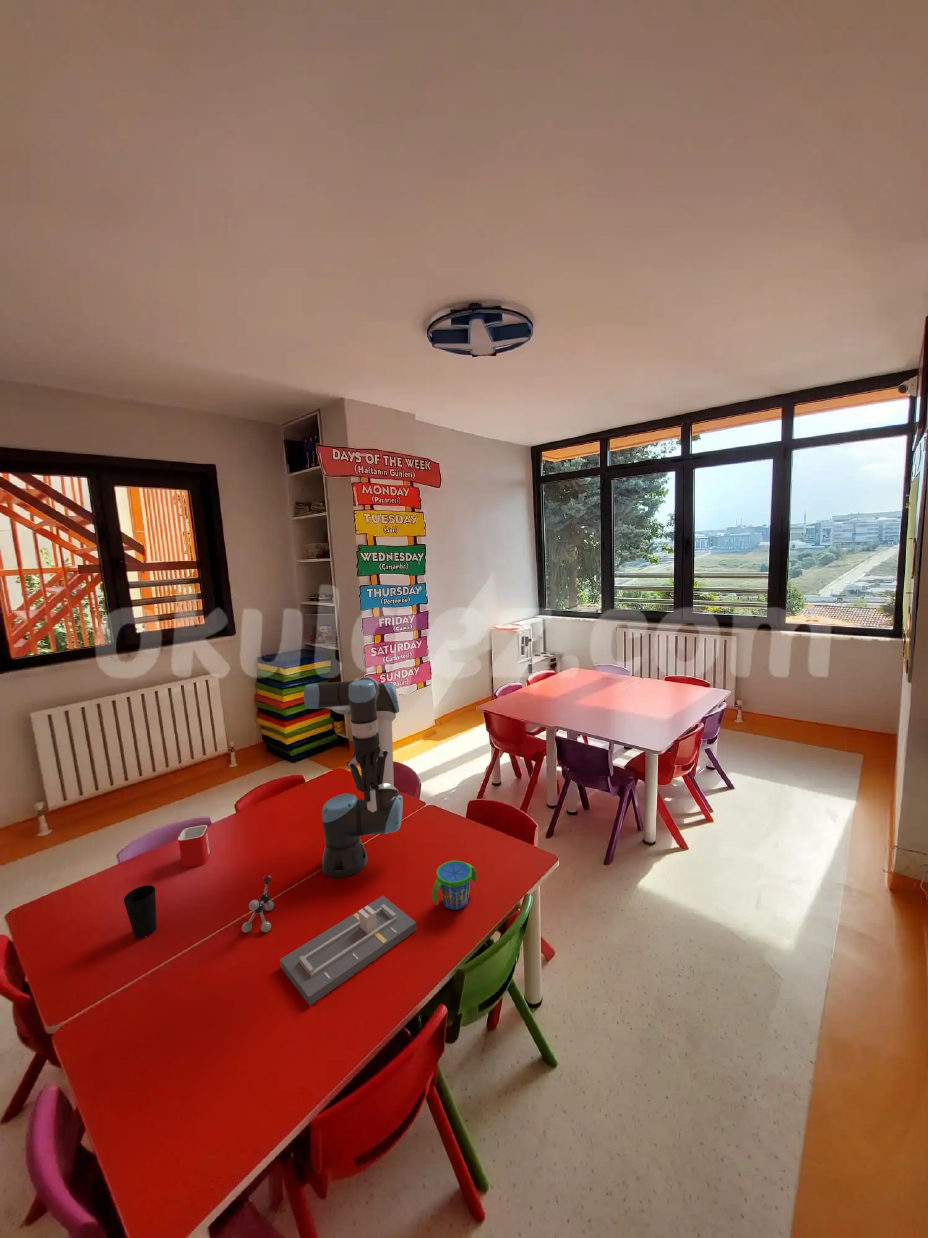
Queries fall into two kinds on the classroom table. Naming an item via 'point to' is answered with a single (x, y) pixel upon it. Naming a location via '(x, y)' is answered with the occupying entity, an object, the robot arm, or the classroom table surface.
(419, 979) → the classroom table surface
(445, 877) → the snack cup
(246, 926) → the molecular model
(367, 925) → the fader tab
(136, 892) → the cup
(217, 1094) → the classroom table surface
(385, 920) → the panel
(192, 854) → the mug
